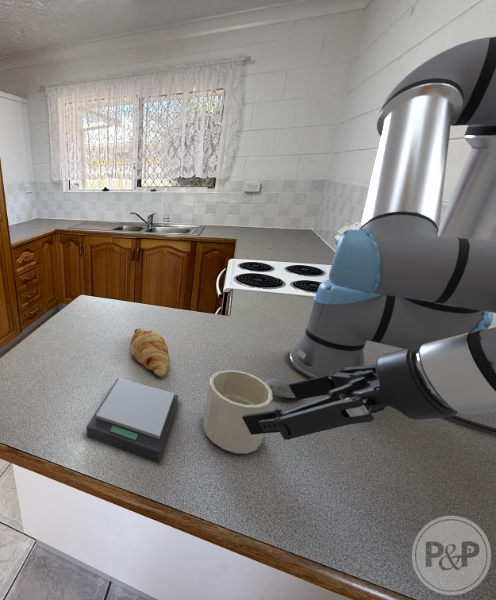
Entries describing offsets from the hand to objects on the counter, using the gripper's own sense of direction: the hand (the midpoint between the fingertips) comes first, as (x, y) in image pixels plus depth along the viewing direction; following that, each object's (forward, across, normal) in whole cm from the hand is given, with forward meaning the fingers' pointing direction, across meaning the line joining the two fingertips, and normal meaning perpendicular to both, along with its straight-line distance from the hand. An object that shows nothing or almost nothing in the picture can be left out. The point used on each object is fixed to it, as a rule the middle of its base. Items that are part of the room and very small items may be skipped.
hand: (272, 407), depth 51 cm
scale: (+21, -13, +6) cm, 25 cm away
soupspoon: (+14, +12, -2) cm, 19 cm away
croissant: (+32, +5, +17) cm, 37 cm away
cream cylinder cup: (+12, 0, -4) cm, 12 cm away
